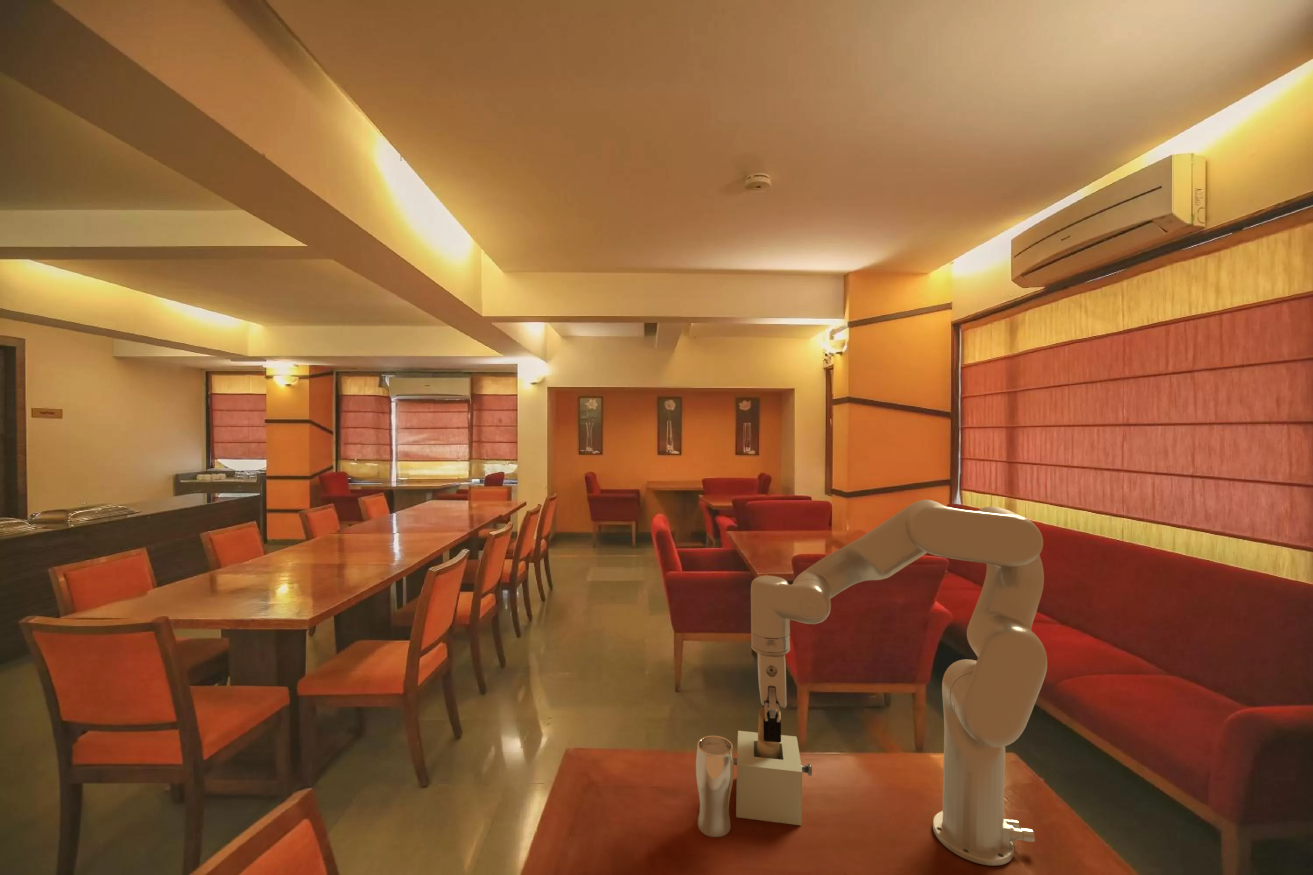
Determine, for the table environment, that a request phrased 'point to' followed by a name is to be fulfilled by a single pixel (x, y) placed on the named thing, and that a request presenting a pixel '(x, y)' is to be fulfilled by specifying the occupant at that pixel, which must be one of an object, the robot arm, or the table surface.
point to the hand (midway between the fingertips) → (771, 727)
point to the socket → (769, 781)
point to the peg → (765, 747)
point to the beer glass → (714, 784)
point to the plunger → (807, 769)
